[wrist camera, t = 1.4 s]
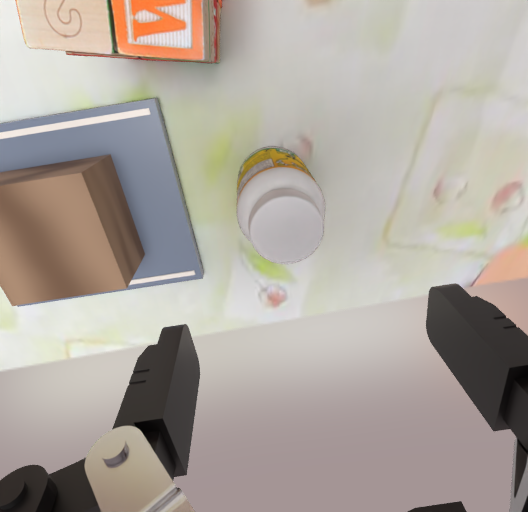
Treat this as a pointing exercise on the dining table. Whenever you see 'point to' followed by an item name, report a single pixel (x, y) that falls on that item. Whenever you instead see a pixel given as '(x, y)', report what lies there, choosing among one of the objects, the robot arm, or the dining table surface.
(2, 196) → the walnut plinth
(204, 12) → the stack of blocks
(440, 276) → the dining table surface
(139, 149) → the blueprint board
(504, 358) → the robot arm
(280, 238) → the supplement bottle
